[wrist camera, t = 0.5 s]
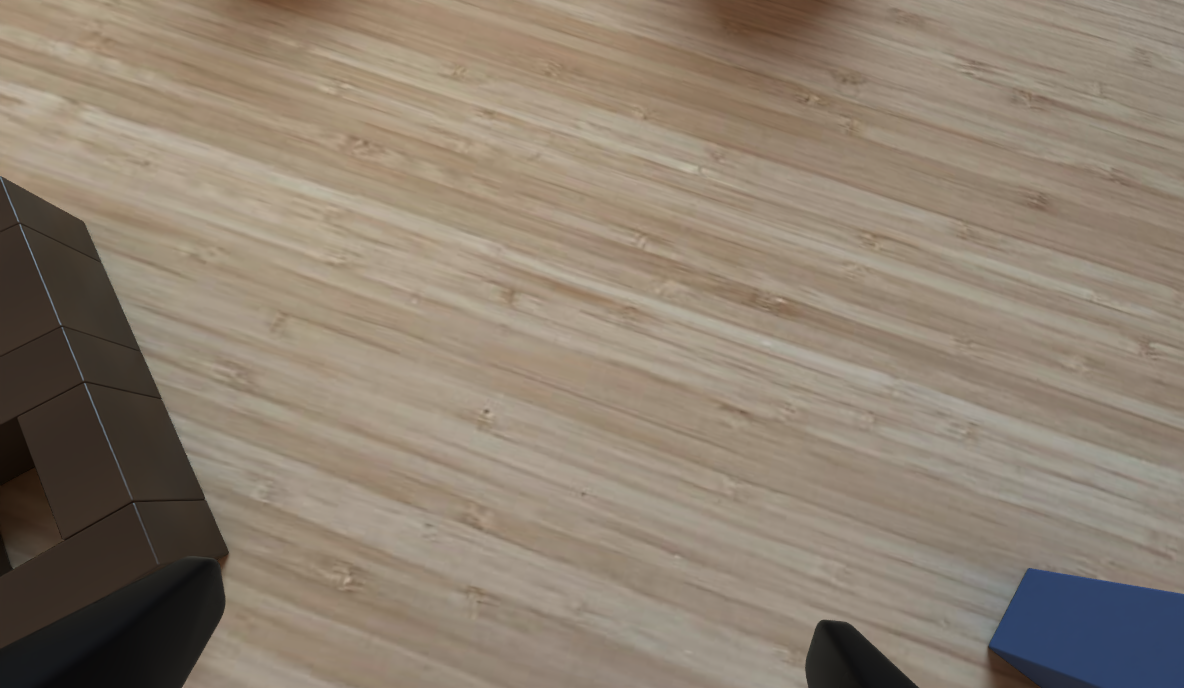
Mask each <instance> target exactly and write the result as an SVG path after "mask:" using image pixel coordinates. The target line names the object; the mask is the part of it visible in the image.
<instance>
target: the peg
mask: <svg viewBox="0 0 1184 688" xmlns="http://www.w3.org/2000/svg"><path fill="white" fill-rule="evenodd" d="M989 648H990V649H991V650H993V651H994V652H995V653H997V654H998V655H999V656H1000V657H1002V658H1003V659H1004V660H1006V661H1007V662H1008V663H1010V664H1011V665H1012V666H1014V667H1015V668H1016V669H1018V670H1019V671H1020V672H1021V673H1023V674H1024V675H1025V676H1027V677H1028V678H1029V679H1031V680H1032V681H1033V682H1035V683H1036V684H1037V685H1039V686H1040V687H1041V688H1184V594H1180V593H1174V592H1168V591H1162V590H1157V589H1151V588H1145V587H1139V586H1133V585H1127V584H1121V583H1115V582H1109V581H1103V580H1097V579H1091V578H1085V577H1079V576H1073V575H1067V574H1061V573H1055V572H1049V571H1043V570H1037V569H1031V568H1029V569H1028V570H1027V572H1026V574H1025V576H1024V578H1023V579H1022V581H1021V583H1020V585H1019V587H1018V589H1017V591H1016V593H1015V595H1014V597H1013V599H1012V601H1011V603H1010V605H1009V607H1008V609H1007V611H1006V613H1005V615H1004V616H1003V618H1002V620H1001V622H1000V624H999V626H998V628H997V630H996V632H995V634H994V636H993V638H992V640H991V642H990V644H989Z"/></svg>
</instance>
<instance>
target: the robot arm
mask: <svg viewBox="0 0 1184 688" xmlns="http://www.w3.org/2000/svg"><path fill="white" fill-rule="evenodd" d="M224 609H225V593H224V587H223V581H222V575H221V568H220V564H219V563H218V561H217V560H216V559H213V558H207V557H197V556H187V557H184V558H182V559H179V560H177V561H175V562H173V563H171V564H169V565H167V566H165V567H163V568H161V569H159V570H157V571H155V572H153V573H151V574H149V575H147V576H145V577H143V578H141V579H139V580H137V581H135V582H133V583H131V584H129V585H127V586H125V587H123V588H121V589H119V590H117V591H115V592H113V593H111V594H109V595H107V596H105V597H103V598H101V599H99V600H97V601H95V602H93V603H91V604H89V605H87V606H85V607H83V608H81V609H79V610H77V611H75V612H73V613H71V614H69V615H67V616H65V617H63V618H61V619H59V620H57V621H55V622H53V623H51V624H49V625H47V626H45V627H43V628H41V629H39V630H37V631H35V632H33V633H31V634H29V635H27V636H25V637H23V638H21V639H19V640H17V641H15V642H13V643H11V644H9V645H7V646H5V647H3V648H1V649H0V688H182V687H183V685H184V683H185V681H186V679H187V678H188V676H189V674H190V672H191V671H192V669H193V667H194V665H195V664H196V662H197V660H198V658H199V657H200V655H201V653H202V651H203V650H204V648H205V646H206V644H207V642H208V641H209V639H210V637H211V635H212V634H213V632H214V630H215V628H216V627H217V625H218V623H219V621H220V619H221V617H222V615H223V612H224ZM805 671H806V678H807V683H808V688H919V687H918V686H916V685H915V684H914V683H913V682H912V681H911V680H910V679H909V678H908V677H907V676H906V675H905V674H904V673H902V672H901V671H900V670H899V669H898V668H897V667H896V666H895V665H894V664H893V663H892V662H891V661H890V660H889V659H887V658H886V657H885V656H884V655H883V654H882V653H881V652H880V651H879V650H878V649H877V648H876V647H875V646H874V645H872V644H871V643H870V642H869V641H868V640H867V639H866V638H865V637H864V636H863V635H862V634H861V633H860V632H859V631H857V630H856V629H855V628H854V627H853V626H852V625H850V624H849V623H847V622H843V621H833V620H821V621H820V622H819V623H818V624H817V626H816V629H815V632H814V635H813V638H812V641H811V645H810V648H809V651H808V654H807V657H806V664H805Z"/></svg>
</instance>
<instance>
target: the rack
mask: <svg viewBox="0 0 1184 688" xmlns="http://www.w3.org/2000/svg"><path fill="white" fill-rule="evenodd" d="M33 467H35V468H36V470H37V473H38V476H39V478H40V481H41V484H42V486H43V489H44V492H45V494H46V497H47V500H48V502H49V505H50V508H51V510H52V513H53V516H54V518H55V521H56V524H57V526H58V529H59V532H60V534H61V537H62V539H63V540H65V541H63V542H61V543H60V544H58V545H56V546H54V547H52V548H51V549H49V550H47V551H45V552H44V553H42V554H40V555H38V556H36V557H35V558H33V559H31V560H29V561H28V562H26V563H24V564H22V565H20V566H19V567H17V568H15V569H13V570H12V568H11V565H10V563H9V560H8V557H7V554H6V551H5V548H4V545H3V542H2V540H1V537H0V649H1V648H3V647H5V646H7V645H9V644H11V643H13V642H15V641H17V640H19V639H21V638H23V637H25V636H27V635H29V634H31V633H33V632H35V631H37V630H39V629H41V628H43V627H45V626H47V625H49V624H51V623H53V622H55V621H57V620H59V619H61V618H63V617H65V616H67V615H69V614H71V613H73V612H75V611H77V610H79V609H81V608H83V607H85V606H87V605H89V604H91V603H93V602H95V601H97V600H99V599H101V598H103V597H105V596H107V595H109V594H111V593H113V592H115V591H117V590H119V589H121V588H123V587H125V586H127V585H129V584H131V583H133V582H135V581H137V580H139V579H141V578H143V577H145V576H147V575H149V574H151V573H153V572H155V571H157V570H159V569H161V568H163V567H165V566H167V565H169V564H171V563H173V562H175V561H177V560H179V559H182V558H184V557H187V556H197V557H207V558H213V559H216V560H219V559H220V558H222V557H224V556H225V555H227V554H228V553H229V551H228V549H227V547H226V544H225V542H224V540H223V538H222V535H221V533H220V531H219V529H218V526H217V524H216V522H215V519H214V517H213V515H212V513H211V510H210V508H209V506H208V504H207V502H206V501H205V497H204V494H203V492H202V490H201V487H200V485H199V483H198V481H197V478H196V476H195V474H194V472H193V469H192V467H191V465H190V462H189V460H188V458H187V456H186V453H185V451H184V449H183V447H182V444H181V442H180V440H179V437H178V435H177V433H176V431H175V428H174V426H173V424H172V422H171V419H170V417H169V415H168V412H167V410H166V408H165V406H164V403H163V401H162V400H161V396H160V394H159V391H158V389H157V387H156V385H155V382H154V380H153V378H152V375H151V373H150V371H149V369H148V366H147V364H146V362H145V360H144V357H143V355H142V353H141V352H140V348H139V346H138V344H137V342H136V339H135V337H134V335H133V332H132V330H131V328H130V326H129V323H128V321H127V319H126V317H125V314H124V312H123V310H122V308H121V305H120V303H119V301H118V298H117V296H116V294H115V292H114V289H113V287H112V285H111V283H110V280H109V278H108V276H107V273H106V271H105V269H104V267H103V264H102V263H101V260H100V258H99V255H98V253H97V251H96V249H95V246H94V244H93V242H92V240H91V237H90V235H89V233H88V230H87V228H86V226H85V224H84V222H83V221H81V220H80V219H78V218H76V217H74V216H72V215H71V214H69V213H67V212H65V211H63V210H61V209H60V208H58V207H56V206H54V205H52V204H51V203H49V202H47V201H45V200H43V199H42V198H40V197H38V196H36V195H34V194H32V193H31V192H29V191H27V190H25V189H23V188H22V187H20V186H18V185H16V184H14V183H13V182H11V181H9V180H7V179H5V178H3V177H2V176H0V485H1V484H3V483H5V482H7V481H9V480H10V479H12V478H14V477H16V476H18V475H20V474H22V473H24V472H25V471H27V470H29V469H31V468H33Z"/></svg>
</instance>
